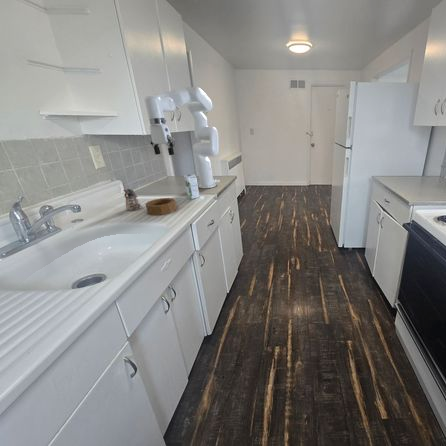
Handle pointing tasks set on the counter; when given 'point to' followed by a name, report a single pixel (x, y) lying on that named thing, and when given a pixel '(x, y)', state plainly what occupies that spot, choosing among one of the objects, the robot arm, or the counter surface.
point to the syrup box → (191, 186)
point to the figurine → (131, 200)
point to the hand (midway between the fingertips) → (164, 154)
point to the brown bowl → (161, 206)
